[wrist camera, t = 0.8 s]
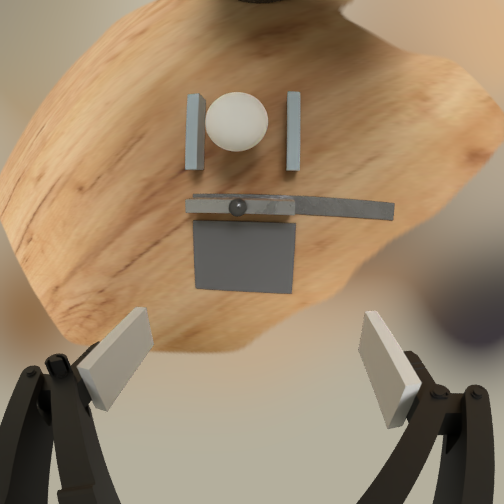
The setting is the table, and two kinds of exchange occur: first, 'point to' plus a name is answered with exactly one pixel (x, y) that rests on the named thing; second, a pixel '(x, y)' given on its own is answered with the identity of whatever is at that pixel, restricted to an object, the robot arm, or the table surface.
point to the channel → (197, 132)
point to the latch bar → (240, 205)
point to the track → (328, 206)
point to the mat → (244, 256)
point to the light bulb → (236, 121)
